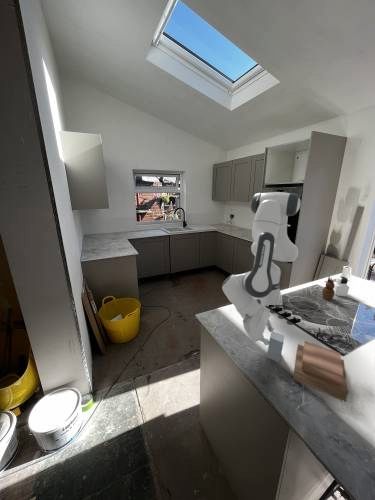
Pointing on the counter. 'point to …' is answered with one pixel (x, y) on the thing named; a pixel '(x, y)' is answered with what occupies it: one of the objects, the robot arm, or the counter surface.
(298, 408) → the counter surface
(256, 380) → the counter surface
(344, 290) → the medicine bottle
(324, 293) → the wooden figurine
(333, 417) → the counter surface
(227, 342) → the counter surface
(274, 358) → the slate brick
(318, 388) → the plinth
